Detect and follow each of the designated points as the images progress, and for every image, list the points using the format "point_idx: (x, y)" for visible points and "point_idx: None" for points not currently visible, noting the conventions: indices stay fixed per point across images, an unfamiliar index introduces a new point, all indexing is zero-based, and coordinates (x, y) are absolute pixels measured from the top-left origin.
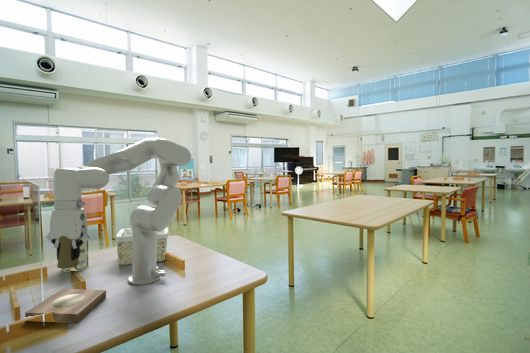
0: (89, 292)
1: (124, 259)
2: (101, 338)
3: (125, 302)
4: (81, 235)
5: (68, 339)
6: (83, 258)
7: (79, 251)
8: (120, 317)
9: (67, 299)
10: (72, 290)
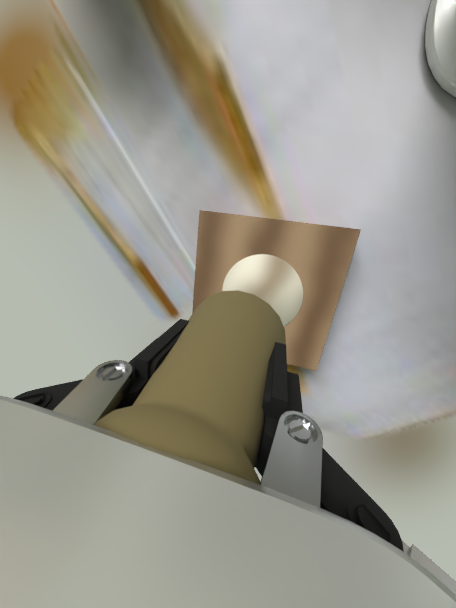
0: (303, 245)
1: None
2: (388, 421)
3: (429, 267)
4: (318, 530)
5: (317, 407)
6: None
7: (299, 398)
8: (423, 352)
9: (254, 290)
10: (238, 224)
